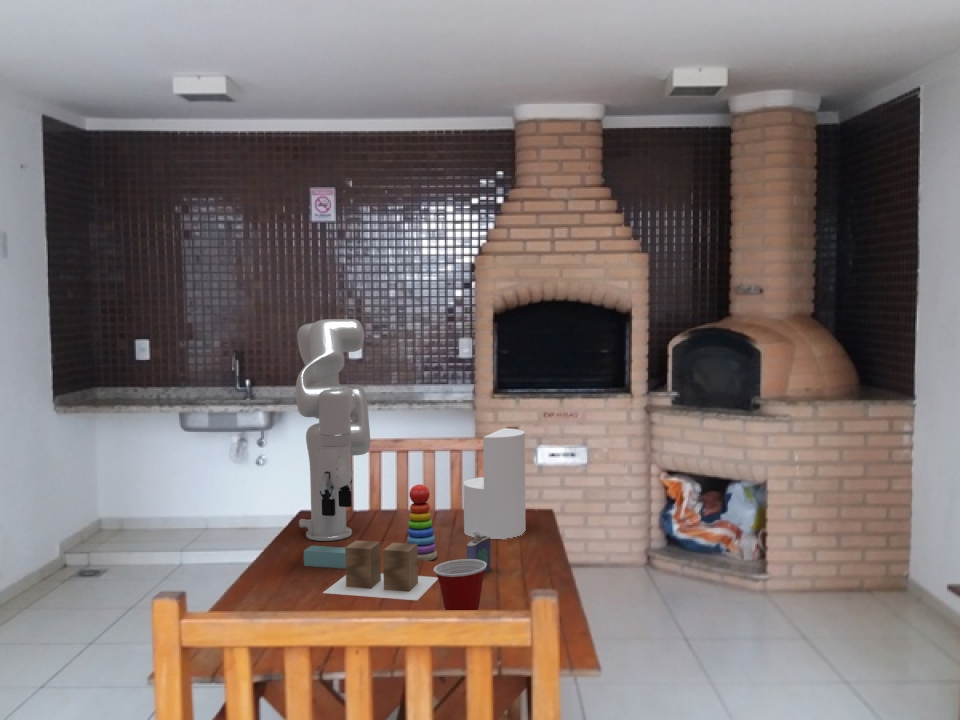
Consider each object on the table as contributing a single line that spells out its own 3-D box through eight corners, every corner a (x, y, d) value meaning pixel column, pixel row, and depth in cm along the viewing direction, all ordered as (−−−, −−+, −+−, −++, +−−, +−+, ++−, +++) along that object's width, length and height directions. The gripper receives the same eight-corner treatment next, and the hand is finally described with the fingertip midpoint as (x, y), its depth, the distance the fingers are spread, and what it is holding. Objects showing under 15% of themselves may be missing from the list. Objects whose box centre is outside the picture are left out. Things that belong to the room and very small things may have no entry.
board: (322, 597, 197) (322, 592, 197) (350, 575, 212) (350, 571, 212) (417, 604, 191) (417, 600, 191) (439, 581, 207) (439, 577, 206)
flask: (473, 584, 205) (473, 538, 204) (462, 582, 206) (462, 536, 205) (492, 573, 213) (492, 528, 212) (482, 571, 214) (481, 527, 213)
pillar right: (383, 589, 198) (383, 549, 198) (393, 581, 204) (392, 542, 203) (409, 591, 197) (408, 551, 196) (418, 583, 202) (417, 544, 202)
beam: (304, 570, 217) (303, 550, 217) (311, 565, 221) (311, 545, 221) (365, 575, 213) (365, 554, 213) (372, 569, 217) (372, 549, 217)
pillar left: (346, 586, 201) (345, 547, 200) (356, 578, 206) (355, 540, 206) (371, 588, 199) (370, 549, 198) (380, 580, 205) (380, 541, 204)
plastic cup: (444, 611, 187) (443, 555, 186) (494, 615, 184) (493, 558, 183) (426, 629, 177) (425, 570, 176) (478, 635, 174) (477, 574, 173)
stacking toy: (442, 555, 227) (441, 483, 226) (427, 564, 220) (426, 489, 219) (415, 552, 231) (414, 480, 229) (400, 560, 224) (398, 486, 222)
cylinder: (533, 526, 256) (532, 429, 254) (514, 541, 239) (513, 438, 237) (476, 521, 261) (475, 427, 259) (454, 536, 245) (453, 435, 243)
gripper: (335, 435, 224) (337, 502, 225) (305, 445, 207) (307, 518, 208) (363, 436, 222) (365, 504, 223) (335, 446, 206) (336, 519, 206)
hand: (337, 510), depth 216 cm, fingers open, 9 cm apart
